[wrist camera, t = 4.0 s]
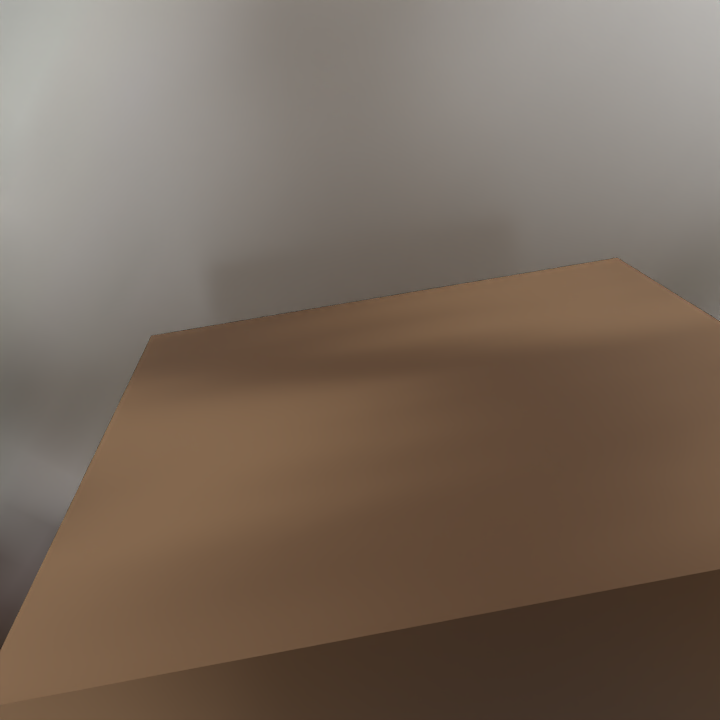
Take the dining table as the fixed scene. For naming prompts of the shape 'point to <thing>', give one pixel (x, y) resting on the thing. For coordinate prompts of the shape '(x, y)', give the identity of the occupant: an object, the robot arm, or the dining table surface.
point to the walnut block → (398, 517)
